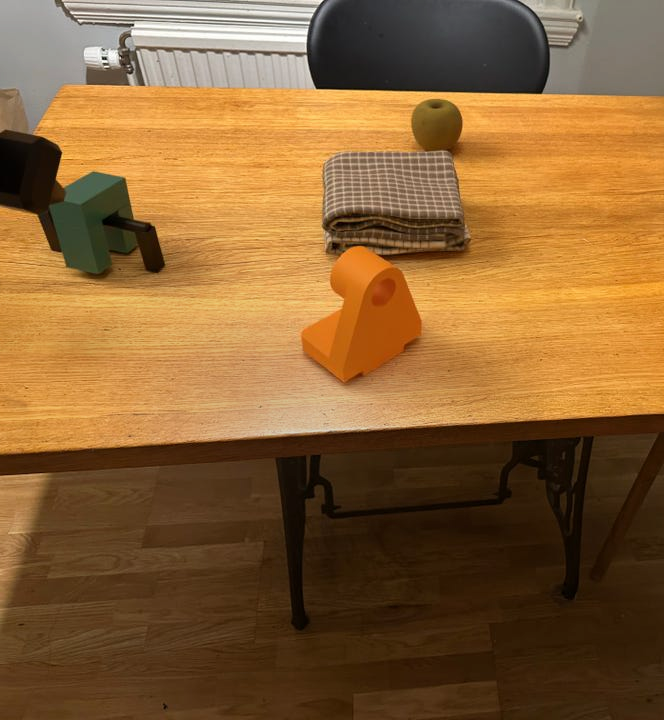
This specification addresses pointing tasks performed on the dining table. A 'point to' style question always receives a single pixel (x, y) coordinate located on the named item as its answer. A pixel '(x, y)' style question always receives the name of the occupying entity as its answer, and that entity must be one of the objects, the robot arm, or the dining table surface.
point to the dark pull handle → (142, 230)
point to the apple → (436, 124)
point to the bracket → (363, 316)
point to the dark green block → (93, 221)
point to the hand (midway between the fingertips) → (19, 187)
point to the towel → (392, 203)
